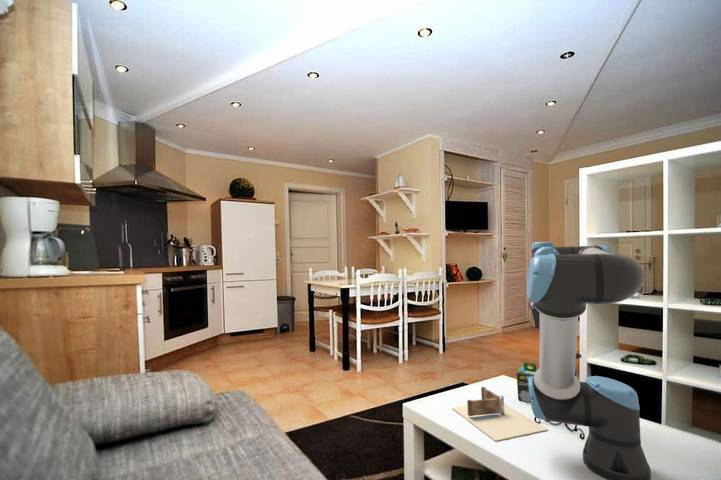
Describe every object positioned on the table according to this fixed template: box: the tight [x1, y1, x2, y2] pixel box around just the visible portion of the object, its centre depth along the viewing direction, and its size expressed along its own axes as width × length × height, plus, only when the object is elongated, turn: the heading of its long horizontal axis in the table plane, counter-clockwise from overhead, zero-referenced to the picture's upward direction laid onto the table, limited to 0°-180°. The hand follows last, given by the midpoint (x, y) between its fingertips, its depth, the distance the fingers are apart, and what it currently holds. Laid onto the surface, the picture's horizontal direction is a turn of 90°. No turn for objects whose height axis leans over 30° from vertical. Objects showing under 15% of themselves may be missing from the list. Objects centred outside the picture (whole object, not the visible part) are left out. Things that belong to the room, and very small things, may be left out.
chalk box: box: [516, 361, 540, 404], centre depth 142 cm, size 9×9×15 cm
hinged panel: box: [467, 398, 499, 416], centre depth 127 cm, size 12×1×5 cm, turn 98°
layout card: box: [451, 403, 549, 443], centre depth 126 cm, size 25×21×1 cm
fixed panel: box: [480, 386, 500, 411], centre depth 134 cm, size 10×1×6 cm, turn 17°
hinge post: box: [498, 395, 505, 415], centre depth 128 cm, size 2×2×6 cm
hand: (547, 348), depth 128 cm, fingers closed
